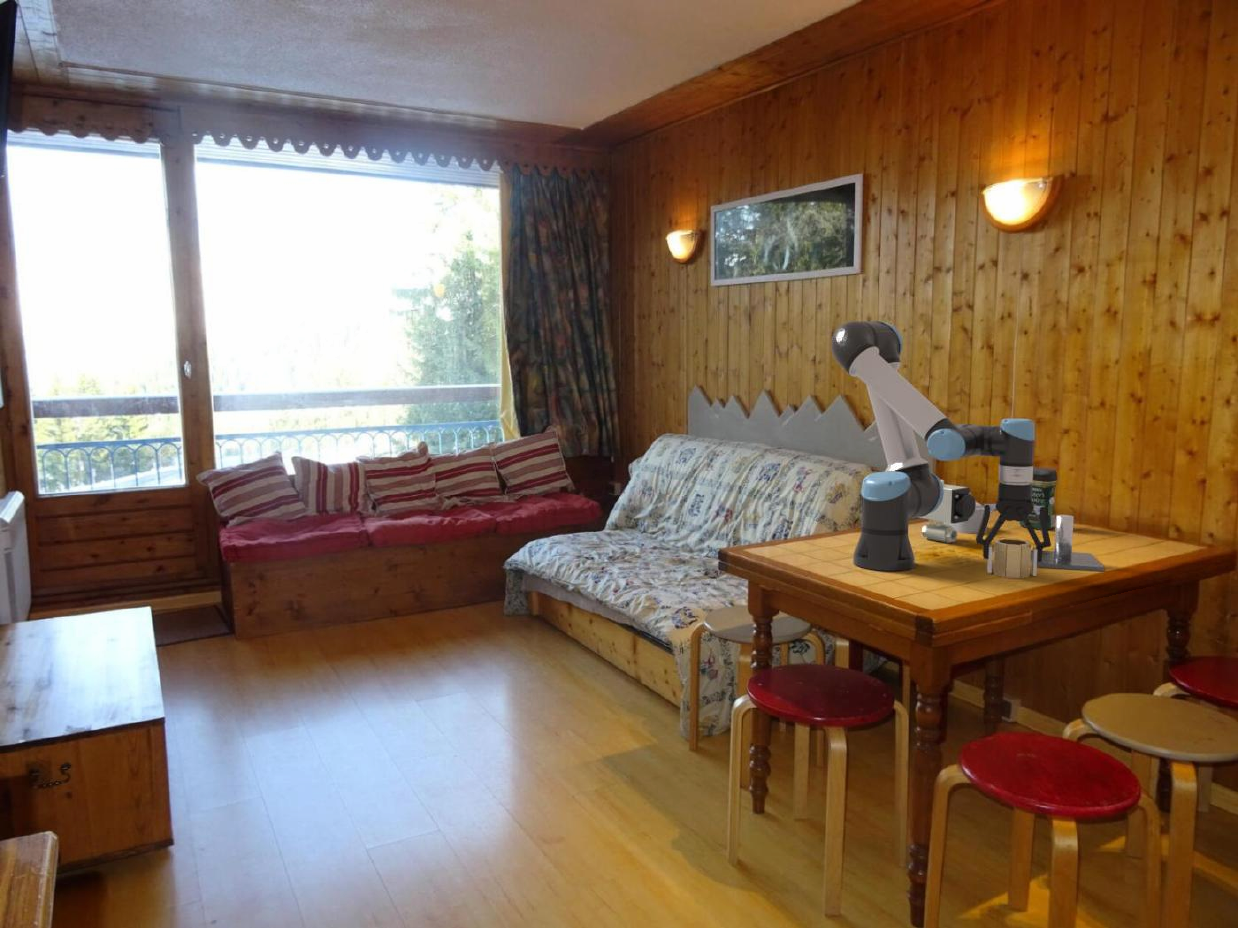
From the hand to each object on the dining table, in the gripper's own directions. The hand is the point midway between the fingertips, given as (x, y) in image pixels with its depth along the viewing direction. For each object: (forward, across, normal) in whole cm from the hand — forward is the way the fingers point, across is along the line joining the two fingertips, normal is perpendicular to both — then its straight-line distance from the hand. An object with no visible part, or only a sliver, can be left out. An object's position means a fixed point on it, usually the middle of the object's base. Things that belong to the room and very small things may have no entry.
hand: (1011, 573), depth 217 cm
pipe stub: (0, +14, +17) cm, 22 cm away
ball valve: (0, -15, +36) cm, 39 cm away
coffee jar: (0, +14, +64) cm, 66 cm away
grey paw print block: (0, -8, +56) cm, 57 cm away
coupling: (0, 0, 0) cm, 0 cm away
